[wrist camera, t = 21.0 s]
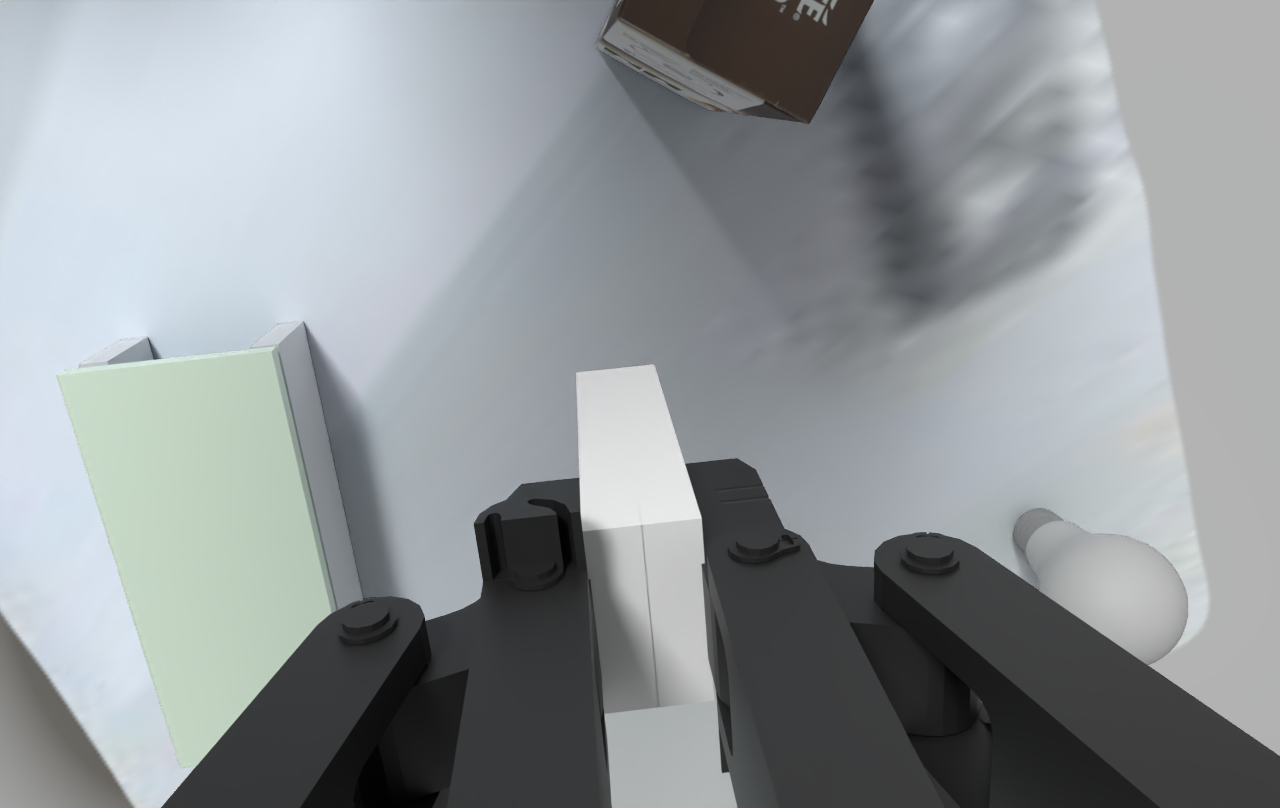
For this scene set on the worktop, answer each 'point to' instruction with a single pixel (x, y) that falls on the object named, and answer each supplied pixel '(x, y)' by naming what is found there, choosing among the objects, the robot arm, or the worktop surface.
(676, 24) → the coffee box
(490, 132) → the worktop surface
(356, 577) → the white u-shaped channel
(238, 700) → the cover
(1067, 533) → the lightbulb
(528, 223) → the worktop surface
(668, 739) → the skincare box
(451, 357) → the worktop surface
